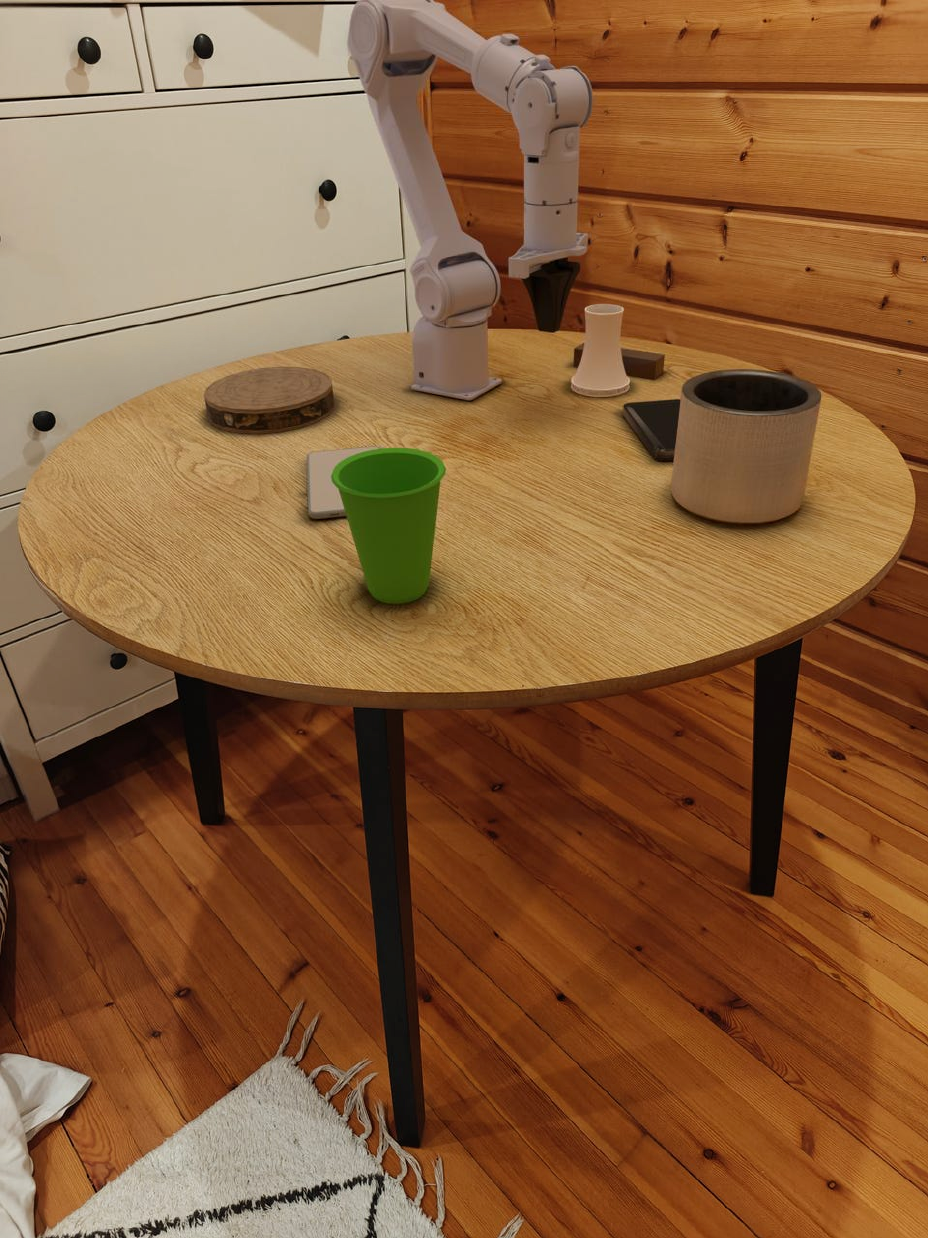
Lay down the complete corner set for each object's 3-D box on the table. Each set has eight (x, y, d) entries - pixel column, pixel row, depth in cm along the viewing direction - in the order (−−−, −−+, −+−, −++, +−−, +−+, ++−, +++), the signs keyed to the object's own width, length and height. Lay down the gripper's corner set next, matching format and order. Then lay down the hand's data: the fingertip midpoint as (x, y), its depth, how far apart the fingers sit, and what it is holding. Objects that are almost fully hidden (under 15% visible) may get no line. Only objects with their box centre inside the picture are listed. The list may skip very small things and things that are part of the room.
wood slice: (357, 412, 113) (355, 388, 111) (238, 444, 105) (233, 419, 104) (301, 380, 124) (298, 358, 122) (189, 407, 116) (184, 384, 115)
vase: (612, 401, 113) (617, 320, 107) (560, 391, 117) (562, 312, 111) (639, 383, 118) (645, 305, 112) (588, 374, 122) (591, 298, 116)
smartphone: (307, 513, 88) (306, 451, 100) (309, 522, 88) (307, 459, 100) (393, 505, 88) (381, 444, 101) (394, 514, 89) (381, 452, 101)
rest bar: (573, 366, 125) (573, 348, 123) (583, 360, 127) (583, 342, 125) (654, 379, 119) (656, 360, 118) (663, 372, 121) (665, 354, 120)
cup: (347, 566, 81) (332, 450, 74) (448, 558, 81) (442, 443, 75) (344, 621, 73) (328, 498, 67) (455, 612, 73) (449, 489, 67)
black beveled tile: (656, 451, 96) (621, 402, 109) (655, 461, 97) (620, 411, 109) (728, 446, 97) (685, 397, 109) (727, 455, 97) (684, 406, 110)
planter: (826, 521, 84) (850, 407, 78) (698, 536, 83) (712, 420, 77) (767, 468, 95) (784, 362, 88) (652, 480, 93) (661, 374, 87)
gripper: (551, 215, 89) (549, 352, 96) (614, 192, 99) (608, 318, 106) (490, 210, 92) (492, 343, 100) (557, 189, 102) (555, 311, 110)
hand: (548, 330), depth 103 cm, fingers closed
